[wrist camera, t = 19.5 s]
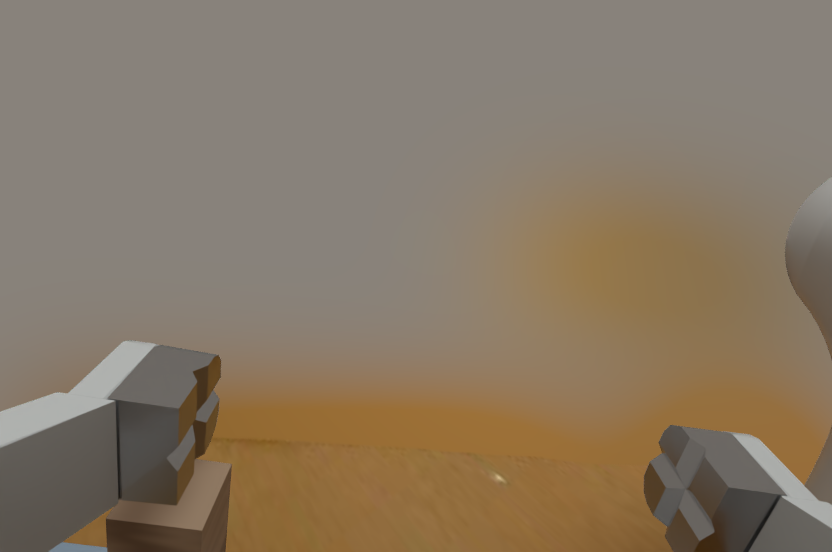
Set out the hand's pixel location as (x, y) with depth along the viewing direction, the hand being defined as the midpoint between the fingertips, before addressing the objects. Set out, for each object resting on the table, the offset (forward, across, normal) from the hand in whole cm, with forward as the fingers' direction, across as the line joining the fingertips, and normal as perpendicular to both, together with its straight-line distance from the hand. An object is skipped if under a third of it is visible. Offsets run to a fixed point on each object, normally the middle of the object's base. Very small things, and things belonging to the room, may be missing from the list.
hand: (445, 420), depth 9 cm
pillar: (+15, +11, +31) cm, 36 cm away
